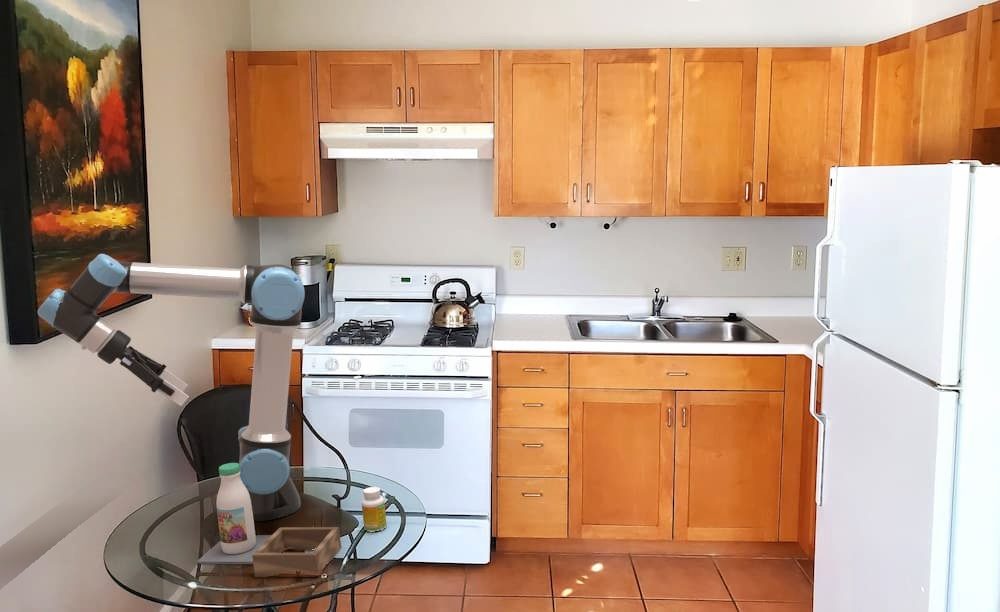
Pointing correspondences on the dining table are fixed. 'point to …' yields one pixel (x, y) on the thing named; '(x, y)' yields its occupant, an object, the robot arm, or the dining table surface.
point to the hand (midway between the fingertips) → (184, 395)
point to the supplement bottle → (373, 510)
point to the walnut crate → (302, 538)
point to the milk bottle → (234, 512)
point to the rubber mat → (220, 557)
